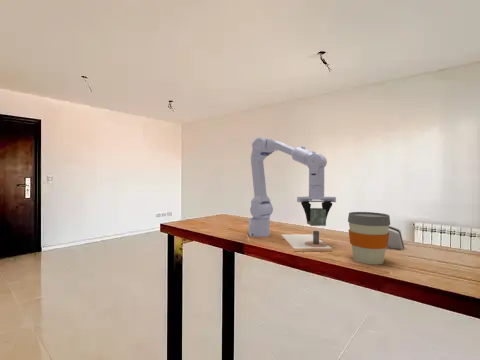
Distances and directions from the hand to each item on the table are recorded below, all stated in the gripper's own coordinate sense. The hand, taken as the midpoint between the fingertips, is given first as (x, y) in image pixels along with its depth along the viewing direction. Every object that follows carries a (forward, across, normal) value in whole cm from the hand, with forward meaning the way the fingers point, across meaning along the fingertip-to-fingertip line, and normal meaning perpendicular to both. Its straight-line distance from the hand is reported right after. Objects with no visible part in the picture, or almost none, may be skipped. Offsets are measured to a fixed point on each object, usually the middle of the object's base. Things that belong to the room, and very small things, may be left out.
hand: (316, 220), depth 104 cm
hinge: (+11, +26, +3) cm, 29 cm away
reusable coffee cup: (+10, +12, -16) cm, 23 cm away
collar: (+1, 0, 0) cm, 1 cm away
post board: (+10, -3, +6) cm, 12 cm away
